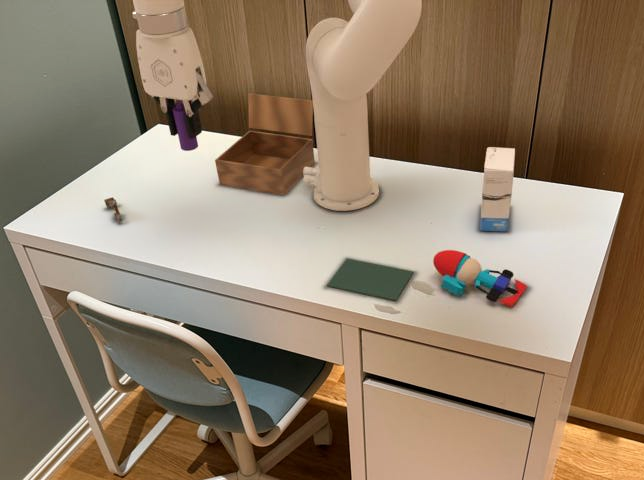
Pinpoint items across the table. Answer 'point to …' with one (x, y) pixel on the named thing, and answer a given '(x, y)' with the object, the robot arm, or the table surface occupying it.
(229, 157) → the brown wooden open box
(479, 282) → the toy figure
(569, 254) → the table surface
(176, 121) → the purple bottle
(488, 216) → the ink box
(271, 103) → the wooden box lid
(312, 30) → the robot arm
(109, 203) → the wooden post with brackets
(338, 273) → the drawing mat
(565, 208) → the table surface
